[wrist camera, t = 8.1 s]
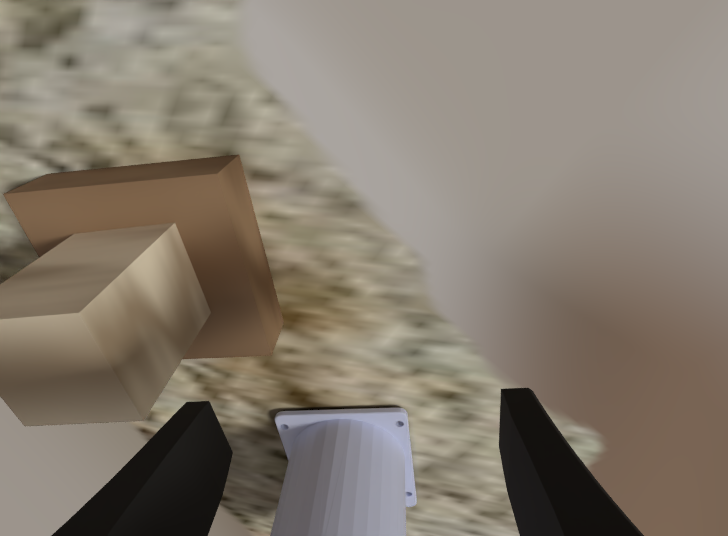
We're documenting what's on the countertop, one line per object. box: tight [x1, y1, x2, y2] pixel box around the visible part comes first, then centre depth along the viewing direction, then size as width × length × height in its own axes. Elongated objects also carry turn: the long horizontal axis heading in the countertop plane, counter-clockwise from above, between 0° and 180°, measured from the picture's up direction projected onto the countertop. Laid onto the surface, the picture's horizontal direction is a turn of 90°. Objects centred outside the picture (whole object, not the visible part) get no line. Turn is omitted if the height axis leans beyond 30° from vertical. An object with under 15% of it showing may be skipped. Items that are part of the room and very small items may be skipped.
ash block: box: [0, 223, 211, 426], centre depth 16 cm, size 4×4×6 cm
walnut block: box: [3, 155, 284, 359], centre depth 20 cm, size 9×9×3 cm
